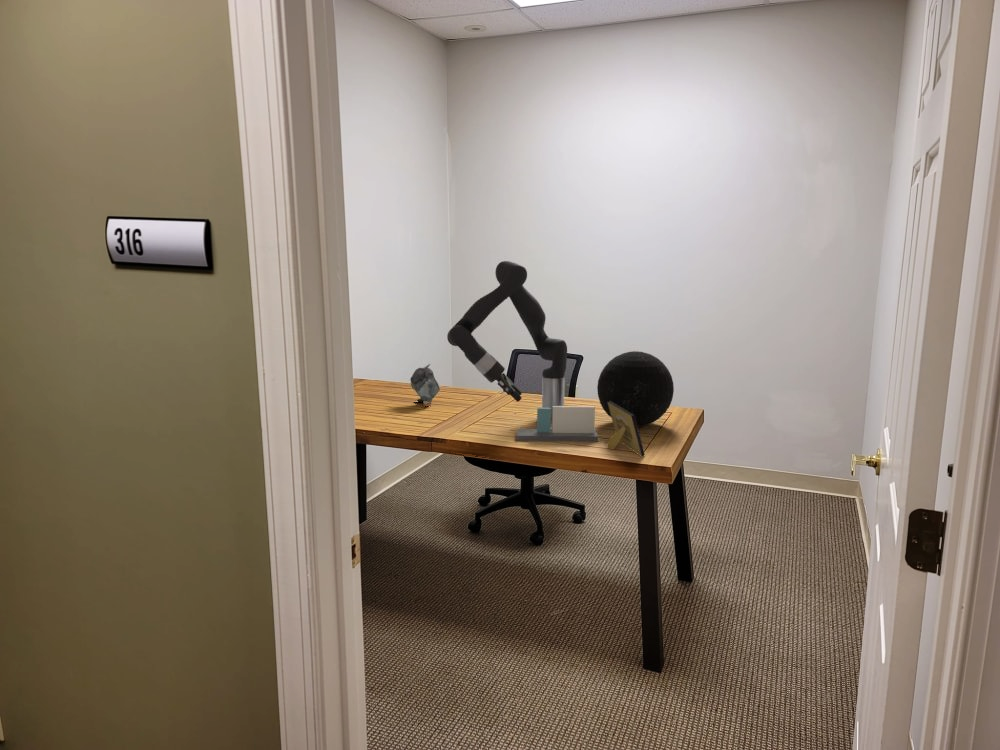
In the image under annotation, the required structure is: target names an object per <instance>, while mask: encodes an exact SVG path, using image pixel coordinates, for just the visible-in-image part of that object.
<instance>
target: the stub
mask: <svg viewBox="0 0 1000 750" xmlns="http://www.w3.org/2000/svg"><path fill="white" fill-rule="evenodd" d="M536 414H537V415H536V429H537V432H550V429H551V424H552V419H551V408H542V407H537V408H536Z"/></svg>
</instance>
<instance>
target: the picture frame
mask: <svg viewBox="0 0 1000 750" xmlns="http://www.w3.org/2000/svg"><path fill="white" fill-rule="evenodd" d="M608 406H609V410H610V413H611V417H612V418H611V417H610V418H611V420H612V425H613V428H614V432H615V433H614V434H613V435H612V436H611V437H610V438H608V441H607V446H606V448H607V447H608V449H610V448H611V449H612V450H615V449H616V448H617V446H618V444H619V442H620V443H622V444H623V443H624V444H623V445H625V446H626V447H627V446H628V448H629V449H630V448H631V449H630V450H632V451H633V450H634V451H635V454H637V453H638V455H639V454H640V455H641V456H642V457H645V456H644V455H646V454H645V450H644V446H643V442H642V438H641V435H640V431H639V426H637V422H636V418H635V415H633V414H632V413H630V412H628V411H627V410H625V409H623V408H621V407H620V406H618V405H616V404H615V403H613V402H611V401H609V402H608ZM634 451H633V452H634ZM640 455H639V456H640ZM641 456H640V457H641Z"/></svg>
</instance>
